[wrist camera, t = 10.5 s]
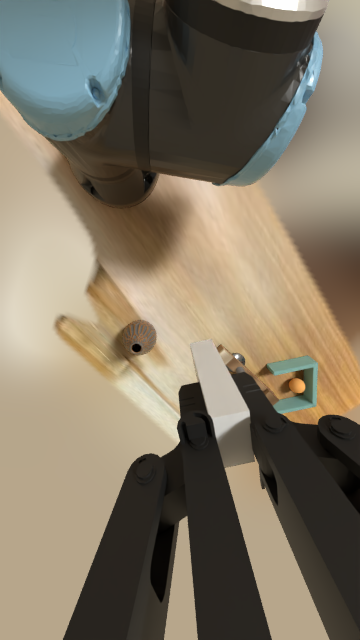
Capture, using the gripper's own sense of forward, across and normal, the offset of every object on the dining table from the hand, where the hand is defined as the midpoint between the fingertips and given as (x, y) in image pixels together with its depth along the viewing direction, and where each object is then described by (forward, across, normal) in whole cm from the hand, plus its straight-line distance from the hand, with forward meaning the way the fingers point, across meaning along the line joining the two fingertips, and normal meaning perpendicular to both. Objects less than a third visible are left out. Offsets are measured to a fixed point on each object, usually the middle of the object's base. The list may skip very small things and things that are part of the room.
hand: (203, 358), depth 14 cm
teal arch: (+30, +23, -30) cm, 49 cm away
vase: (+31, -10, -8) cm, 33 cm away
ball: (+29, +25, -30) cm, 48 cm away
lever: (+30, +12, -23) cm, 40 cm away
